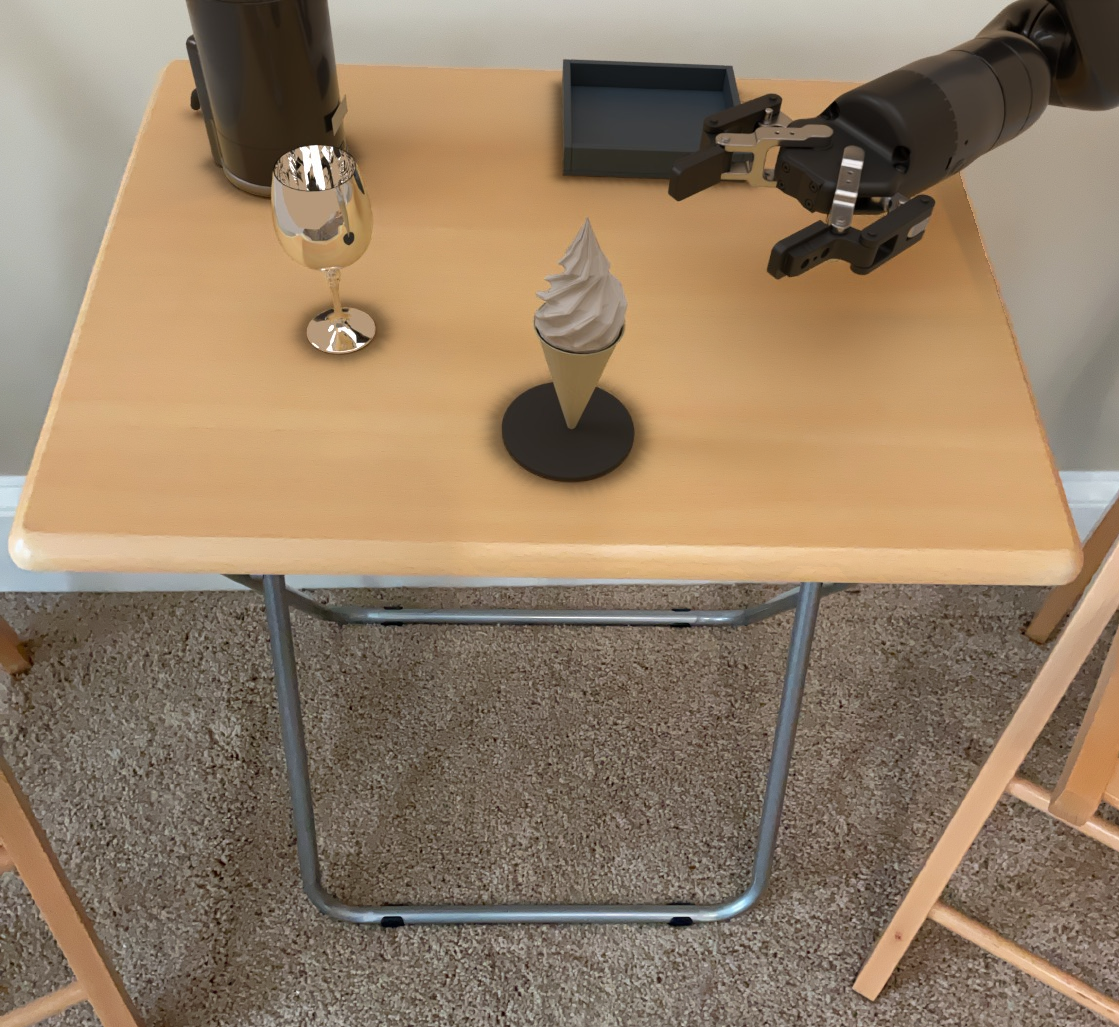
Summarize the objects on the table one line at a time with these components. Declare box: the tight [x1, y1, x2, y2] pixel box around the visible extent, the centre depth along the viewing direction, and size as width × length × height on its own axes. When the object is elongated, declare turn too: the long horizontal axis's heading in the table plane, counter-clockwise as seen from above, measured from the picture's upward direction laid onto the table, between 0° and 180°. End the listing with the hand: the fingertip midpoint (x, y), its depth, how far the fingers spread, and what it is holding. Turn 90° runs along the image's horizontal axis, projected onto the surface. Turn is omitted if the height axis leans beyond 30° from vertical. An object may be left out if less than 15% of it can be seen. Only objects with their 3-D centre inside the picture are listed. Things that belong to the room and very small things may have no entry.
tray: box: [561, 58, 751, 183], centre depth 83 cm, size 14×13×2 cm
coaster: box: [501, 381, 635, 483], centre depth 63 cm, size 8×8×1 cm
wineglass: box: [270, 145, 377, 355], centre depth 63 cm, size 6×6×12 cm
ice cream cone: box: [532, 216, 629, 429], centre depth 57 cm, size 5×5×15 cm
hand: (721, 223), depth 59 cm, fingers open, 8 cm apart
